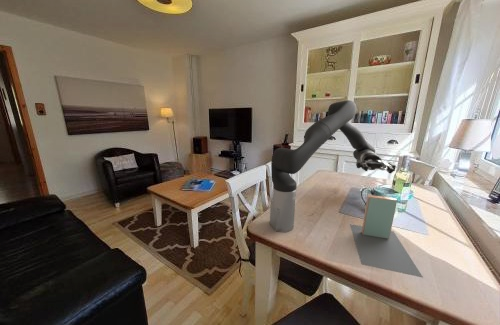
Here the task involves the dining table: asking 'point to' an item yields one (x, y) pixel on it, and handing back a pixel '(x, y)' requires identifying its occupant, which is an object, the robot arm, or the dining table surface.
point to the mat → (383, 252)
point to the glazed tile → (379, 216)
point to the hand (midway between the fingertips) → (378, 170)
